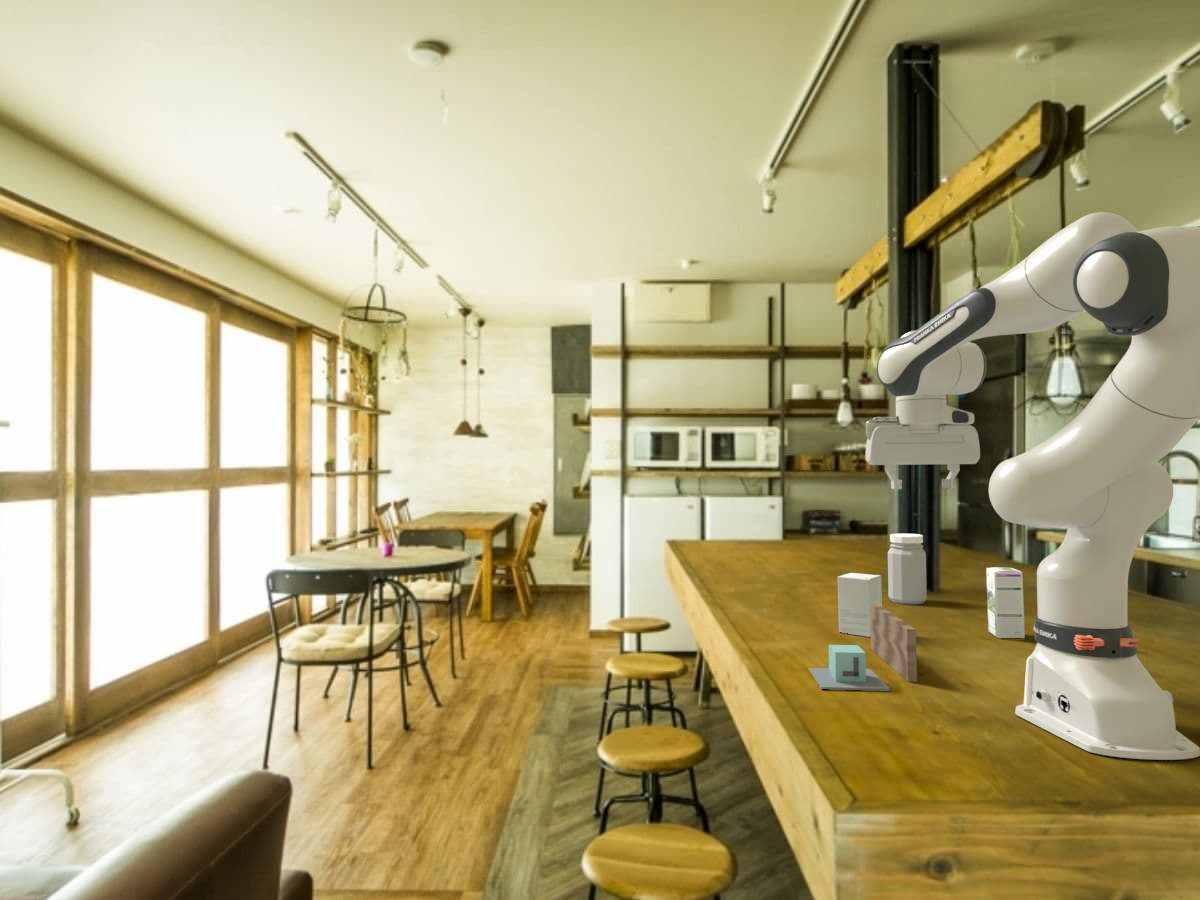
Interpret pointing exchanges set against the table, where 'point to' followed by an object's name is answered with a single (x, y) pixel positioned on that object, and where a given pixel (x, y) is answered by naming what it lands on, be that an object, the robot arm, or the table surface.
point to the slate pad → (829, 683)
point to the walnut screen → (894, 641)
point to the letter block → (847, 663)
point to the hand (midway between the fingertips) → (922, 488)
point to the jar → (907, 569)
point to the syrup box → (1005, 602)
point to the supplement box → (857, 602)
